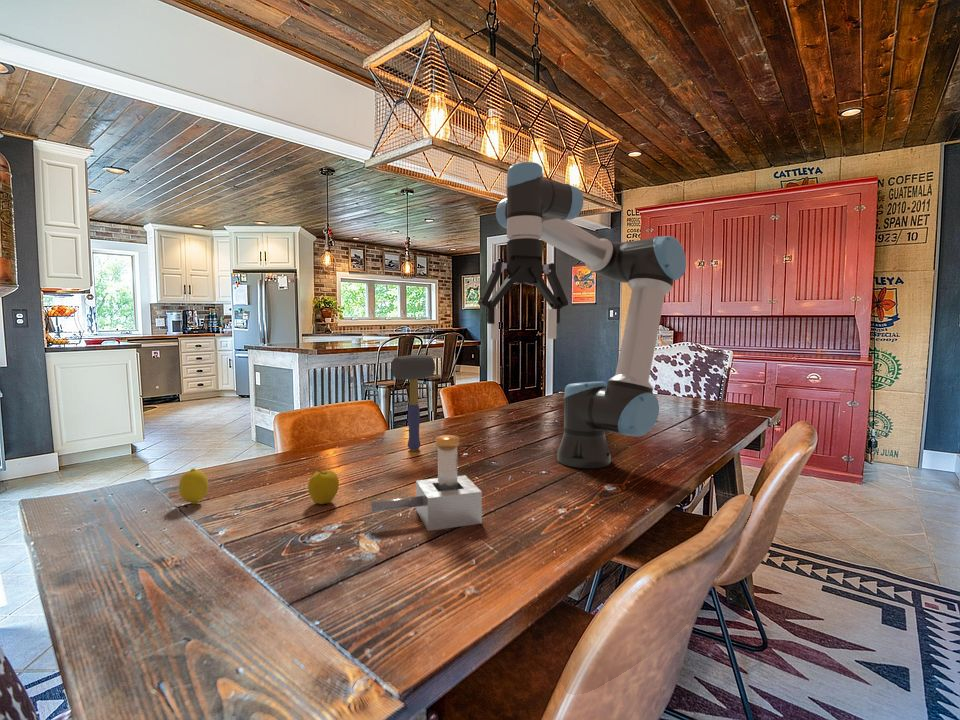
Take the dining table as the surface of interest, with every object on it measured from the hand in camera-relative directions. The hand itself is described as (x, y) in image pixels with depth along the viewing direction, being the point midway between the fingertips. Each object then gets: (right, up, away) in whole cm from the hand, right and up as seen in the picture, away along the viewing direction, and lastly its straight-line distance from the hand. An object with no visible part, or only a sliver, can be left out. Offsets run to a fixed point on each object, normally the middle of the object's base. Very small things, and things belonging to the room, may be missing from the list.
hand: (523, 339), depth 105 cm
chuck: (-21, -37, -7) cm, 43 cm away
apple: (-44, -37, +2) cm, 57 cm away
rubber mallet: (-30, -33, +47) cm, 65 cm away
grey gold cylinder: (-16, -34, -5) cm, 38 cm away
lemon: (-73, -37, +2) cm, 81 cm away
